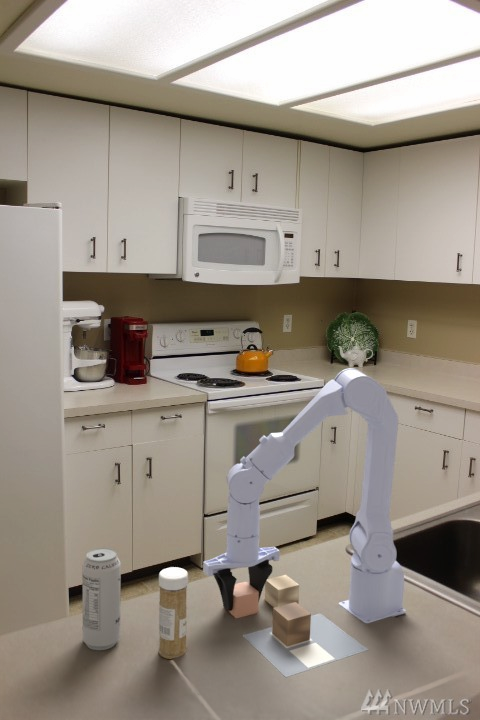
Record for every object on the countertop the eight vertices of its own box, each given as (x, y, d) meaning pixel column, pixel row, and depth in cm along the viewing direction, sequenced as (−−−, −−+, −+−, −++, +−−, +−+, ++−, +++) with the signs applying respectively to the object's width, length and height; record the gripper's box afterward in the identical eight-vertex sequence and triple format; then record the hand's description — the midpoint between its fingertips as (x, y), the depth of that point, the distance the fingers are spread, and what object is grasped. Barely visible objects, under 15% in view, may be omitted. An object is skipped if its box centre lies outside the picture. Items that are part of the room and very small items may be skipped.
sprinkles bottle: (191, 655, 106) (193, 574, 104) (166, 663, 103) (167, 581, 102) (178, 641, 110) (179, 563, 108) (152, 649, 107) (153, 569, 106)
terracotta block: (245, 604, 123) (246, 581, 122) (258, 615, 119) (258, 591, 118) (223, 610, 121) (224, 586, 120) (235, 621, 117) (236, 597, 116)
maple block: (284, 597, 126) (285, 574, 125) (298, 608, 122) (299, 584, 121) (264, 602, 124) (265, 579, 123) (277, 613, 120) (278, 590, 119)
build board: (320, 615, 119) (320, 613, 119) (368, 652, 108) (368, 649, 108) (242, 638, 111) (242, 635, 111) (285, 680, 100) (285, 677, 100)
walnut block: (294, 626, 114) (295, 602, 114) (309, 639, 110) (310, 614, 110) (272, 633, 112) (273, 608, 111) (287, 646, 108) (288, 620, 108)
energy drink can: (125, 646, 108) (126, 557, 106) (89, 656, 105) (89, 565, 103) (112, 628, 113) (113, 543, 111) (77, 637, 110) (77, 550, 108)
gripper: (266, 517, 125) (263, 586, 127) (196, 531, 118) (194, 603, 119) (287, 531, 119) (284, 603, 120) (214, 545, 112) (212, 622, 113)
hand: (241, 604), depth 120 cm, fingers open, 5 cm apart
